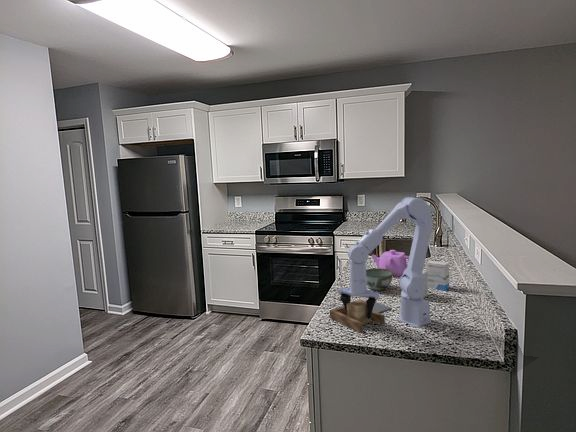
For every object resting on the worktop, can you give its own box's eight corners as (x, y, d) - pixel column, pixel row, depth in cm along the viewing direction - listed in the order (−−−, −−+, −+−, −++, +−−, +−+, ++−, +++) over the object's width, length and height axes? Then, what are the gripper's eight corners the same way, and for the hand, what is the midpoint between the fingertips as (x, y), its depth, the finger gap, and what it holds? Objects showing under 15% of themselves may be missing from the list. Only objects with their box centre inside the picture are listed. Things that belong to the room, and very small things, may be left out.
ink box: (449, 288, 160) (449, 262, 159) (445, 291, 156) (445, 265, 155) (430, 285, 166) (430, 260, 165) (425, 287, 162) (425, 262, 161)
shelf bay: (384, 323, 126) (384, 315, 126) (359, 332, 120) (359, 323, 120) (354, 310, 139) (353, 303, 139) (330, 318, 133) (329, 310, 133)
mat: (391, 309, 139) (391, 307, 139) (372, 315, 134) (372, 314, 134) (372, 302, 148) (372, 300, 147) (354, 307, 142) (354, 306, 142)
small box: (414, 292, 157) (414, 268, 156) (427, 294, 154) (427, 270, 152) (407, 297, 151) (407, 273, 150) (421, 300, 148) (421, 275, 146)
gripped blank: (370, 321, 129) (370, 302, 128) (357, 326, 125) (357, 307, 124) (360, 317, 133) (359, 299, 132) (347, 322, 129) (346, 303, 128)
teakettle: (387, 279, 177) (387, 255, 176) (370, 271, 194) (370, 248, 192) (417, 275, 182) (417, 251, 181) (398, 267, 198) (397, 245, 197)
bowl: (398, 288, 164) (398, 270, 163) (384, 296, 154) (384, 278, 153) (371, 283, 173) (371, 266, 172) (357, 290, 163) (356, 273, 162)
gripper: (381, 278, 127) (382, 315, 128) (342, 274, 134) (343, 309, 135) (376, 283, 121) (376, 322, 122) (335, 279, 128) (336, 315, 129)
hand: (358, 316), depth 128 cm, fingers open, 7 cm apart
